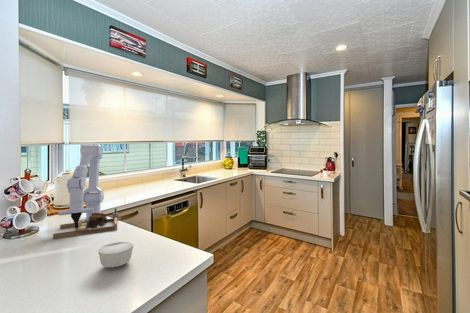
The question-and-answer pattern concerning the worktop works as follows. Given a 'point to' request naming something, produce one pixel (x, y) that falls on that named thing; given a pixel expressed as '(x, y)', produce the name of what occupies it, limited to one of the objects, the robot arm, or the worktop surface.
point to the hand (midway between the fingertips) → (76, 227)
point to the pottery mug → (97, 220)
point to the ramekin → (115, 254)
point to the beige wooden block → (82, 225)
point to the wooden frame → (87, 231)
